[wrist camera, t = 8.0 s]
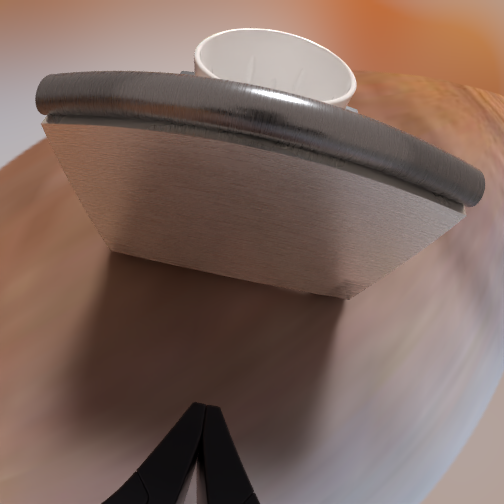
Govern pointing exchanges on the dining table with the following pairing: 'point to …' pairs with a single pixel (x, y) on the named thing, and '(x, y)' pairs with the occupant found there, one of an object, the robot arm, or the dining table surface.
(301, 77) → the white cup
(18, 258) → the dining table surface
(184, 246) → the silver boxy shape
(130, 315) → the dining table surface
